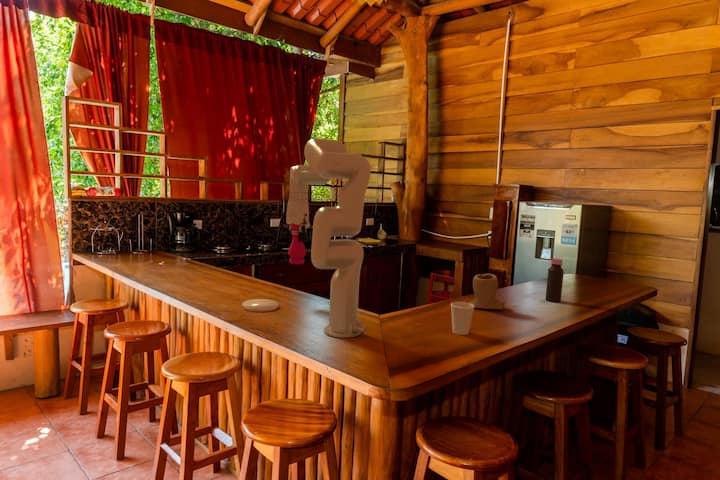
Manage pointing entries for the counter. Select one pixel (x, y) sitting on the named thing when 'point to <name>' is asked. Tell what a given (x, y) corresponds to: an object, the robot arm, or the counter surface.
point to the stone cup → (486, 292)
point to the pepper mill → (296, 247)
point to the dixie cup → (461, 317)
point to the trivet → (260, 305)
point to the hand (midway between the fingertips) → (297, 240)
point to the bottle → (554, 281)
